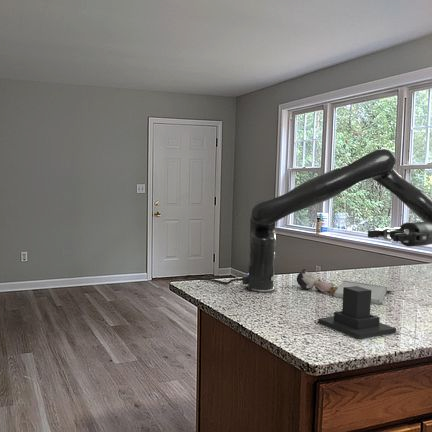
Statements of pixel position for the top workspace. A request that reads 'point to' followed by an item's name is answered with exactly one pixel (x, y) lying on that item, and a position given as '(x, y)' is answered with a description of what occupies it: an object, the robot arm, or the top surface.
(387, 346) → the top surface
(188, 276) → the robot arm
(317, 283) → the figurine
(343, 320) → the base pad
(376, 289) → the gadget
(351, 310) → the pad block
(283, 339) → the top surface
